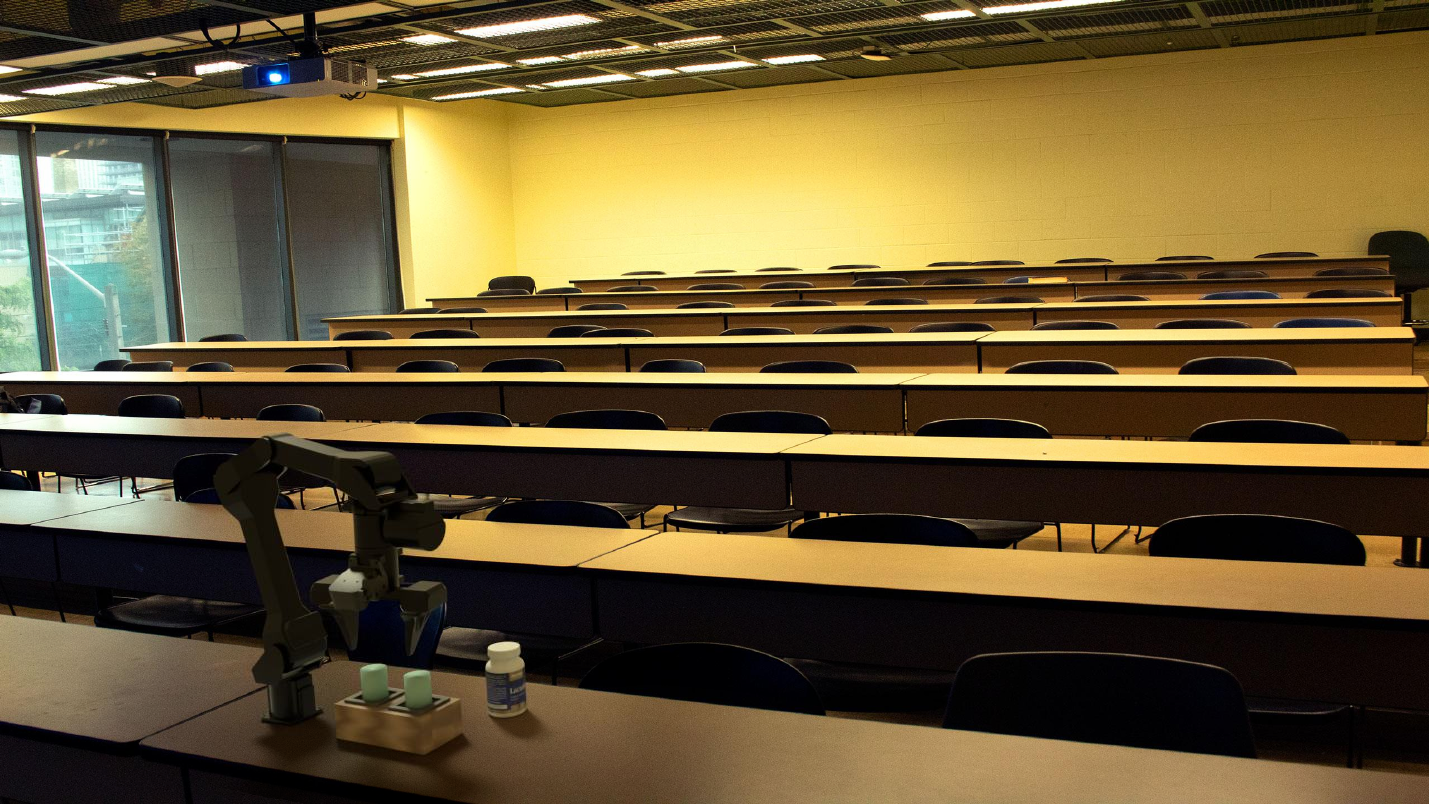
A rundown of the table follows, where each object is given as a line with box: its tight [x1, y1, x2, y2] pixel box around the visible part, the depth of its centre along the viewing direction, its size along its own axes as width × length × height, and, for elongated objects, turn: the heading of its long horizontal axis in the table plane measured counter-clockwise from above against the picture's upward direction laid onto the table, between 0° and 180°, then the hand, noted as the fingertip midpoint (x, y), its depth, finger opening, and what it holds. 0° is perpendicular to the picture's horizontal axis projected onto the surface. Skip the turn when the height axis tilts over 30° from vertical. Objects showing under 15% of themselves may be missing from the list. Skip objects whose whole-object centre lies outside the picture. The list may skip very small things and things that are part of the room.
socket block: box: [333, 686, 464, 756], centre depth 159 cm, size 16×8×5 cm, turn 63°
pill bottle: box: [485, 641, 528, 719], centre depth 166 cm, size 6×6×10 cm
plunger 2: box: [403, 669, 433, 710], centre depth 157 cm, size 4×4×5 cm
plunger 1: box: [359, 663, 389, 702], centre depth 160 cm, size 4×4×5 cm
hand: (381, 652), depth 159 cm, fingers open, 9 cm apart
